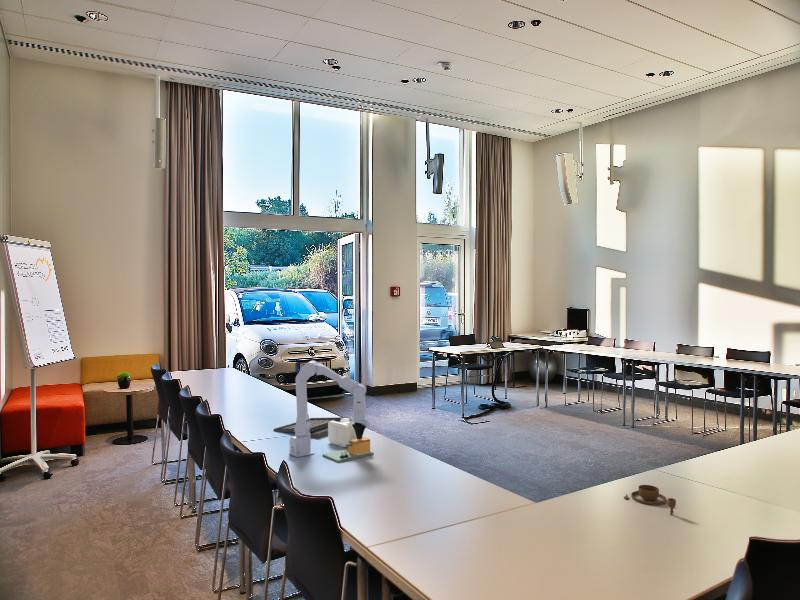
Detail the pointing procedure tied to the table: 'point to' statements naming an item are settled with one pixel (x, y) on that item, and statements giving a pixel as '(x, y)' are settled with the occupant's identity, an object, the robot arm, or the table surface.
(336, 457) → the board
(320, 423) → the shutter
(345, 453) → the twin bulb fixture
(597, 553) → the table surface
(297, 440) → the robot arm
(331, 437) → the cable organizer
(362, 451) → the block
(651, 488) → the place setting
